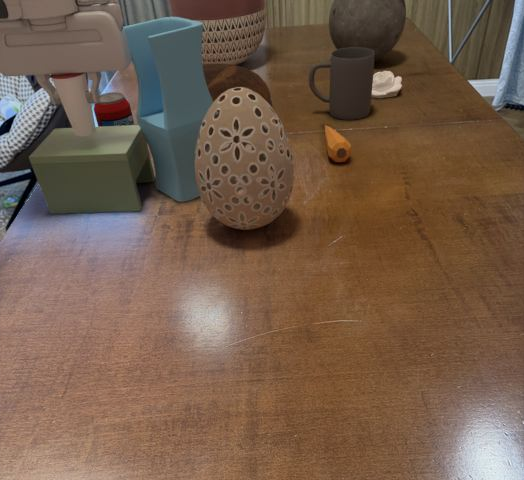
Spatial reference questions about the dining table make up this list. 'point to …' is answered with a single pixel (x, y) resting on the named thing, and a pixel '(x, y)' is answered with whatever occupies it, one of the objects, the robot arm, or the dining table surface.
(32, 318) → the dining table surface
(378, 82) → the rose
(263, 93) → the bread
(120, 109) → the beverage can
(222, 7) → the planter
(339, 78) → the mug
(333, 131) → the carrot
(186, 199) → the vase
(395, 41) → the decorative sphere
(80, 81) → the cup
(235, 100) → the ornament
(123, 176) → the sage green box
